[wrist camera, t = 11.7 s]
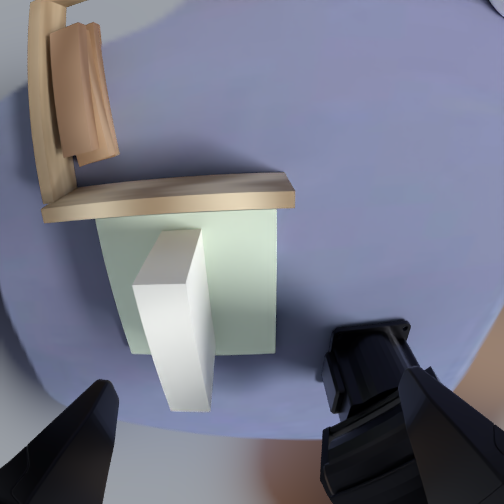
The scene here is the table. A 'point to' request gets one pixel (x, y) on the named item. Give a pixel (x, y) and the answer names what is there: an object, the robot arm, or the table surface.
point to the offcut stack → (82, 94)
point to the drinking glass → (498, 6)
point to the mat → (217, 268)
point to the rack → (132, 192)
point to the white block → (178, 318)
